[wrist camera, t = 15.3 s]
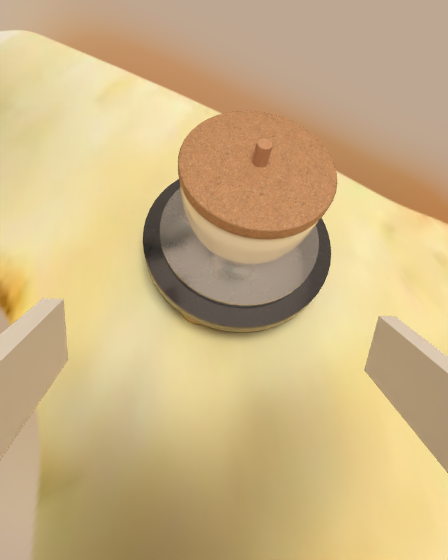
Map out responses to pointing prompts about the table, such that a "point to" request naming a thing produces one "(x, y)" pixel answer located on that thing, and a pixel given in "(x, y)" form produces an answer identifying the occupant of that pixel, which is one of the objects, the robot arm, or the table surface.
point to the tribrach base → (229, 273)
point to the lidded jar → (254, 185)
